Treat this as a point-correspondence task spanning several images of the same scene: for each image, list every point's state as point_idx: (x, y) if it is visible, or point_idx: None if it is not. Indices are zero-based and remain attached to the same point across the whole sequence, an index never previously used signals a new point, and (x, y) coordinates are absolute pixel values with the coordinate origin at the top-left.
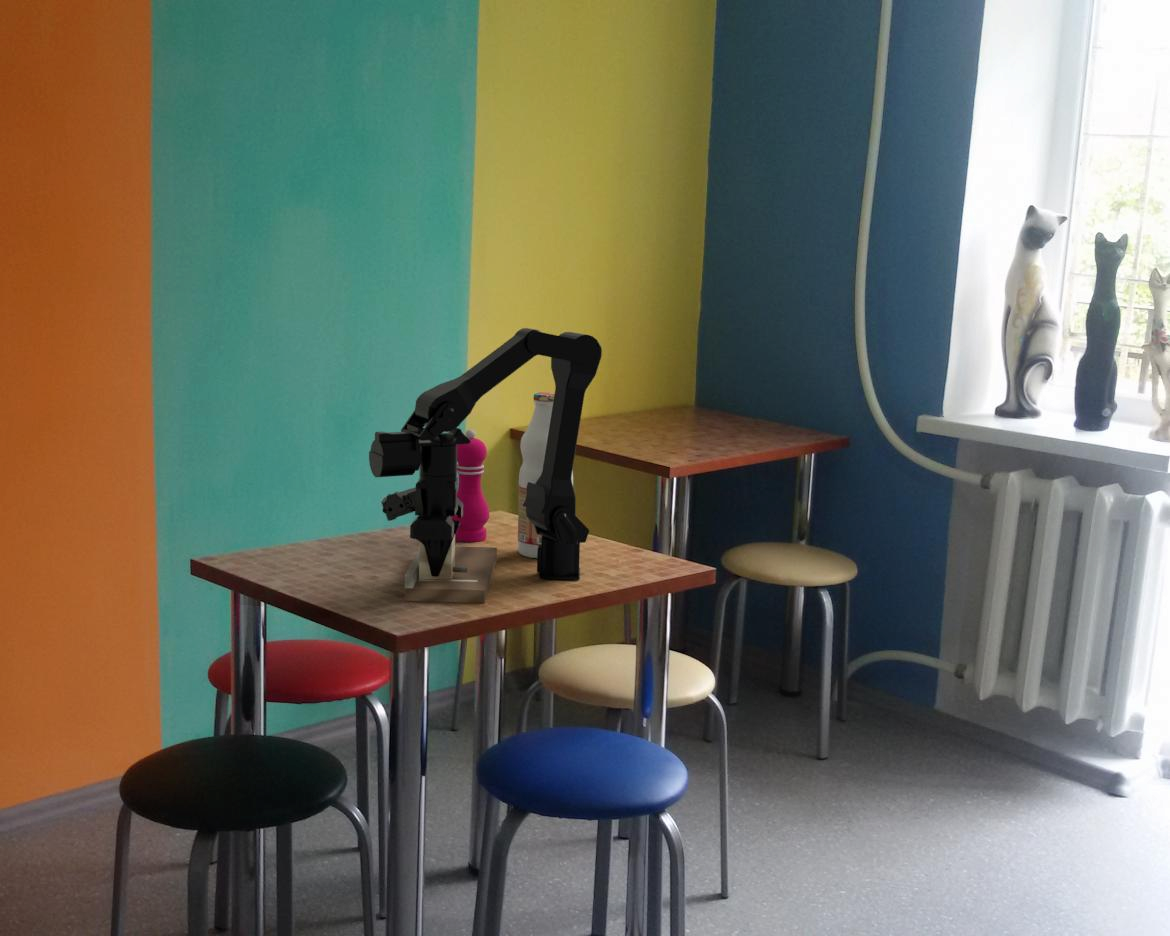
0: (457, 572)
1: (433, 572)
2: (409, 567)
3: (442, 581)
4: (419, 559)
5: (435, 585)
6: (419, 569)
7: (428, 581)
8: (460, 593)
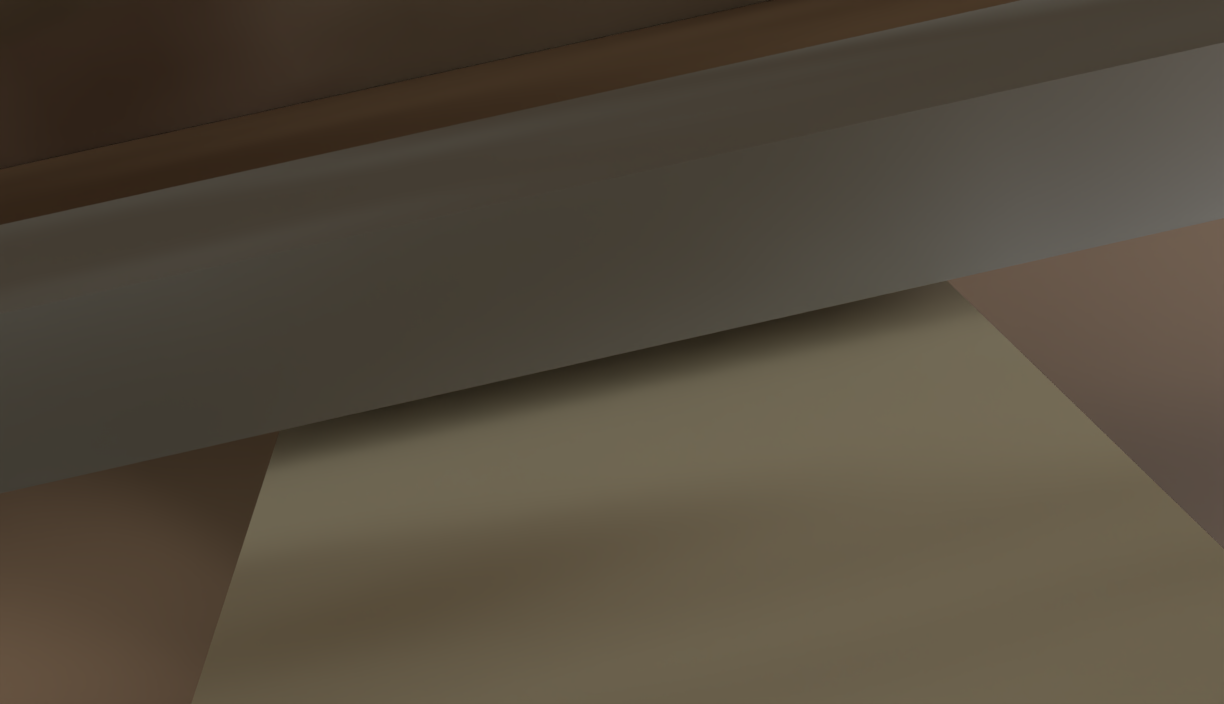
0: None
1: None
2: (151, 293)
3: None
4: (235, 612)
5: (123, 649)
6: (274, 460)
7: None
8: None
